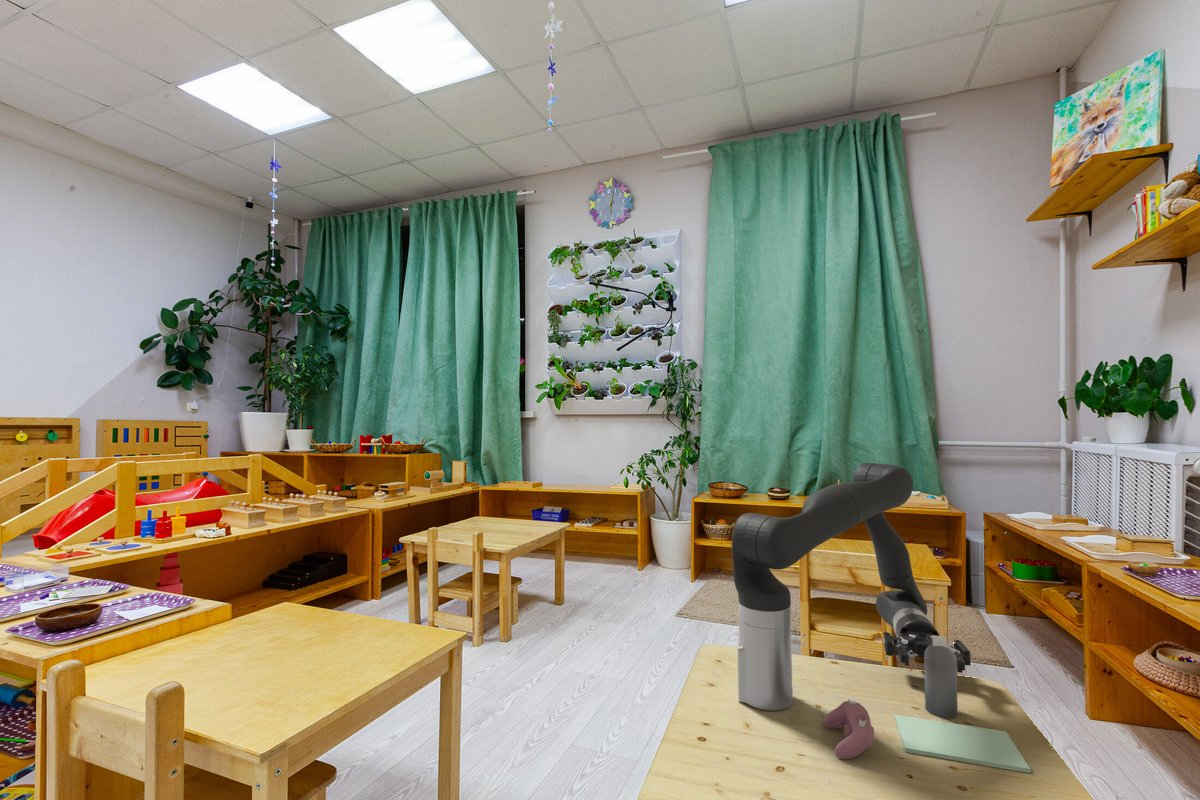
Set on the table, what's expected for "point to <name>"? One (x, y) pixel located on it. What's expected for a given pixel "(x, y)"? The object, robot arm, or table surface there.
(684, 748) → the table surface
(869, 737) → the mauve curved piece
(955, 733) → the mat
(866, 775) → the table surface
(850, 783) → the table surface
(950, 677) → the grey bottle
